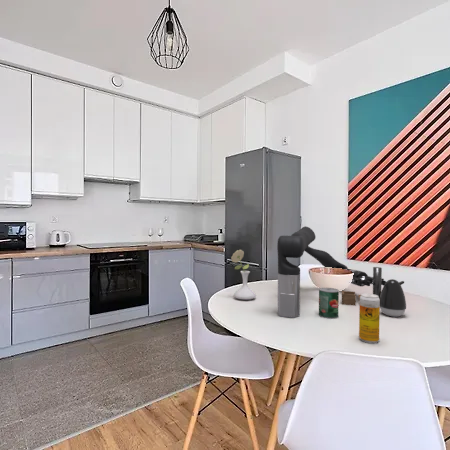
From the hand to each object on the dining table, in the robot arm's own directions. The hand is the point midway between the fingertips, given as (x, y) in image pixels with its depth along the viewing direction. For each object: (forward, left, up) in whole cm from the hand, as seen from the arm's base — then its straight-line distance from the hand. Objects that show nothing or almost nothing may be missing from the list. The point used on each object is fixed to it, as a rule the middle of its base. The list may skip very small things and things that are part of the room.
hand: (377, 283), depth 147 cm
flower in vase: (-10, +63, -11) cm, 64 cm away
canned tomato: (-25, +22, -11) cm, 35 cm away
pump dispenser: (-14, -4, -11) cm, 18 cm away
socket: (0, +13, -10) cm, 16 cm away
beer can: (-49, +9, -11) cm, 51 cm away
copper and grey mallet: (0, 0, -10) cm, 10 cm away
